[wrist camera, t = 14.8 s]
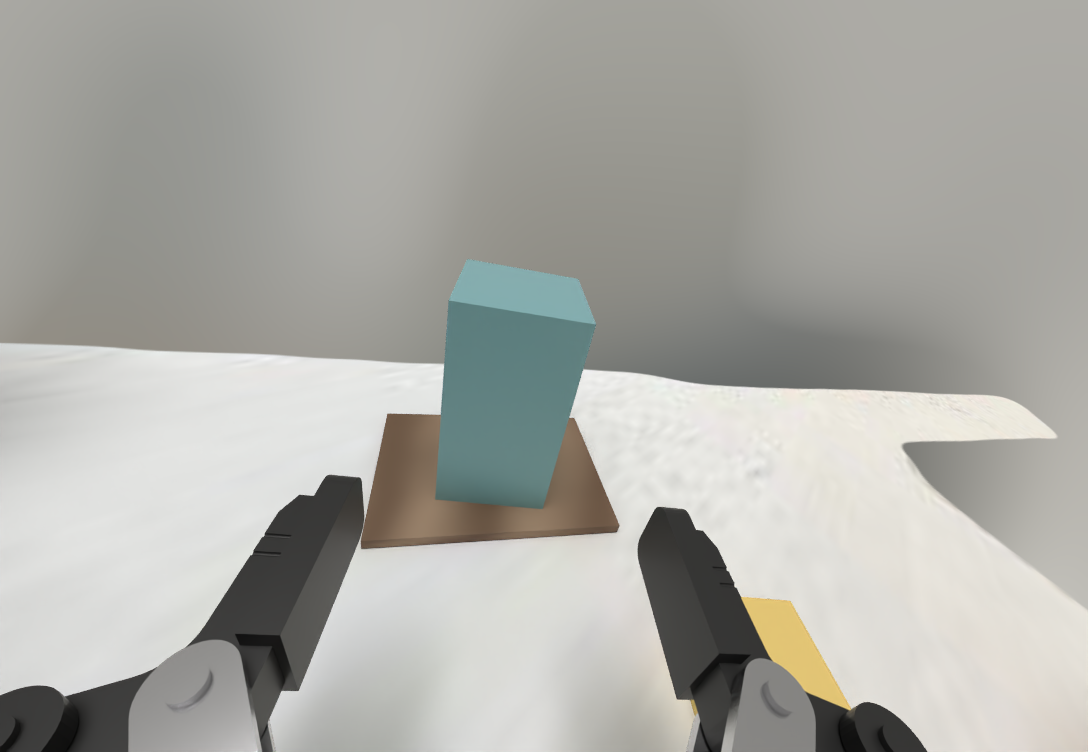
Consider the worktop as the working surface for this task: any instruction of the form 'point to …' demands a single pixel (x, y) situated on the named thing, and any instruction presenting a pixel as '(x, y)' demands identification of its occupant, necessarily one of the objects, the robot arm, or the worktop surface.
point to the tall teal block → (508, 382)
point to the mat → (417, 518)
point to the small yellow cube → (792, 648)
